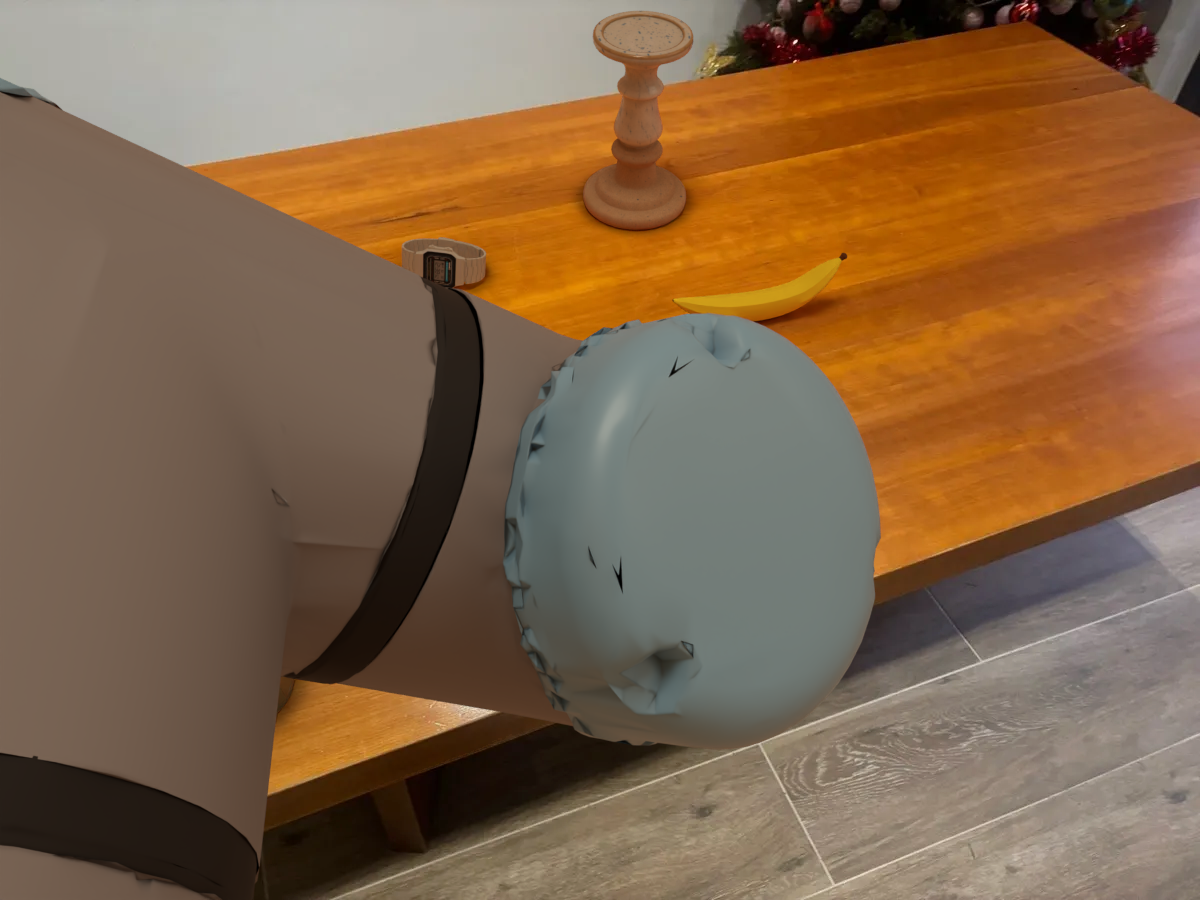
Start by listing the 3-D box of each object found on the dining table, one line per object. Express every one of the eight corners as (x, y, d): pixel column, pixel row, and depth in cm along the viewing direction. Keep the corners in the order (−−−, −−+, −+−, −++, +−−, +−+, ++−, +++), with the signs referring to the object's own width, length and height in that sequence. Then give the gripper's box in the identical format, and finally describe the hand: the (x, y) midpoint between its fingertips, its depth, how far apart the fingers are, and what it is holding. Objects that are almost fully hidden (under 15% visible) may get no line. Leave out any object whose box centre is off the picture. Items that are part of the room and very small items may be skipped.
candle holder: (613, 242, 102) (619, 71, 87) (565, 186, 109) (563, 19, 94) (705, 214, 106) (726, 45, 91) (653, 161, 113) (664, -3, 98)
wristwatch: (398, 289, 97) (391, 252, 93) (410, 253, 101) (403, 215, 97) (483, 294, 96) (479, 256, 92) (491, 257, 100) (488, 220, 97)
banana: (663, 327, 93) (668, 279, 89) (827, 292, 98) (840, 244, 93) (673, 346, 92) (678, 298, 87) (840, 309, 96) (853, 261, 91)
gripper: (119, 1017, 21) (49, 825, 39) (693, 410, 34) (450, 468, 52) (-123, 803, 19) (-84, 701, 37) (585, 244, 32) (368, 362, 50)
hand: (228, 565), depth 44 cm, fingers open, 13 cm apart
